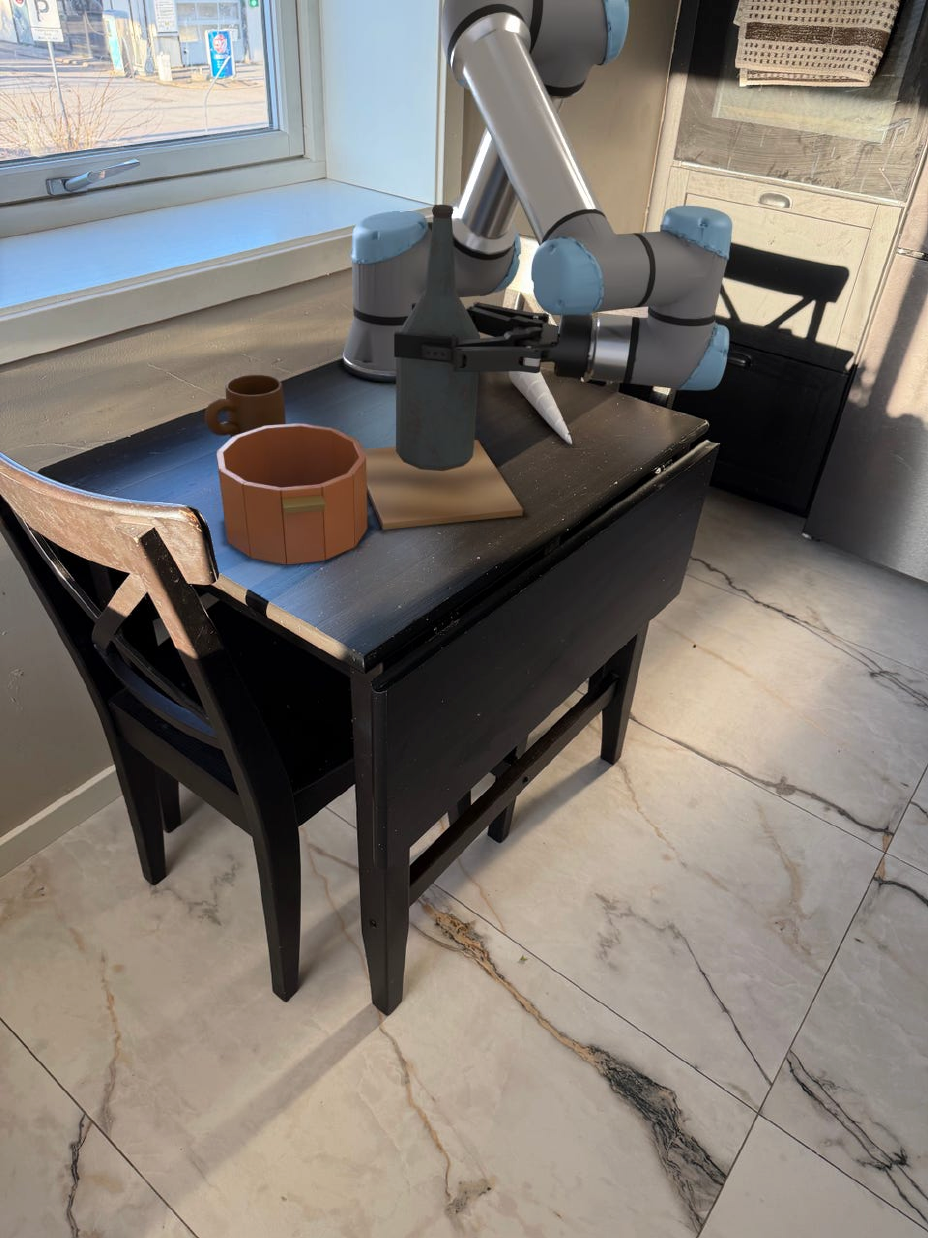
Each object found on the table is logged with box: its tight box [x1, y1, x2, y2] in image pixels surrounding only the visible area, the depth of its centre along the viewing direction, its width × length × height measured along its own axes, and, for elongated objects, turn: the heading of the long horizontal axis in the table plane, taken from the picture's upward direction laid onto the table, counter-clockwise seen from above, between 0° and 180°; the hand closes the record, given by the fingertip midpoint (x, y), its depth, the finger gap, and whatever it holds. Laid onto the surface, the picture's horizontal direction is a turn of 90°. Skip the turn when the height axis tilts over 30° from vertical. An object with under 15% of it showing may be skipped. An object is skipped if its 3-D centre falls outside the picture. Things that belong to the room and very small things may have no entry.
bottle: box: [395, 204, 481, 471], centre depth 108 cm, size 10×10×30 cm
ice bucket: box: [215, 422, 368, 566], centre depth 107 cm, size 21×17×10 cm
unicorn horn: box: [508, 371, 573, 445], centre depth 139 cm, size 5×24×5 cm, turn 12°
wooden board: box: [362, 439, 524, 531], centre depth 120 cm, size 20×18×1 cm
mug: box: [204, 374, 287, 439], centre depth 121 cm, size 12×8×9 cm, turn 142°
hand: (403, 328), depth 108 cm, fingers closed on bottle, 10 cm apart
